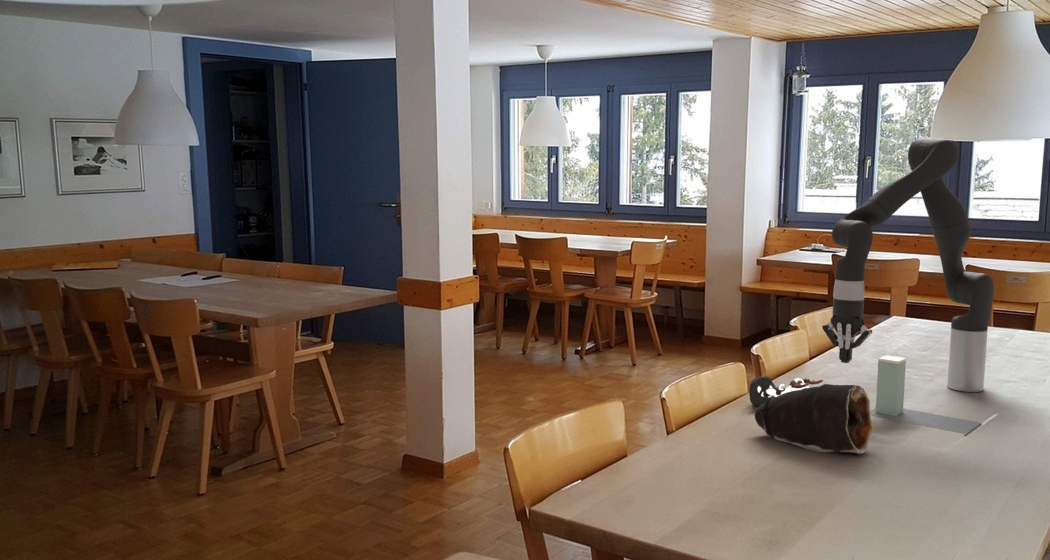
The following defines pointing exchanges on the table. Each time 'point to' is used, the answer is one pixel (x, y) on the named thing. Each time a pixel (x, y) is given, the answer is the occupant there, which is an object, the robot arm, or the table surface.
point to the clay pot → (819, 418)
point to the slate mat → (932, 420)
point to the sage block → (890, 385)
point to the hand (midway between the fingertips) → (845, 362)
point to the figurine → (774, 388)
